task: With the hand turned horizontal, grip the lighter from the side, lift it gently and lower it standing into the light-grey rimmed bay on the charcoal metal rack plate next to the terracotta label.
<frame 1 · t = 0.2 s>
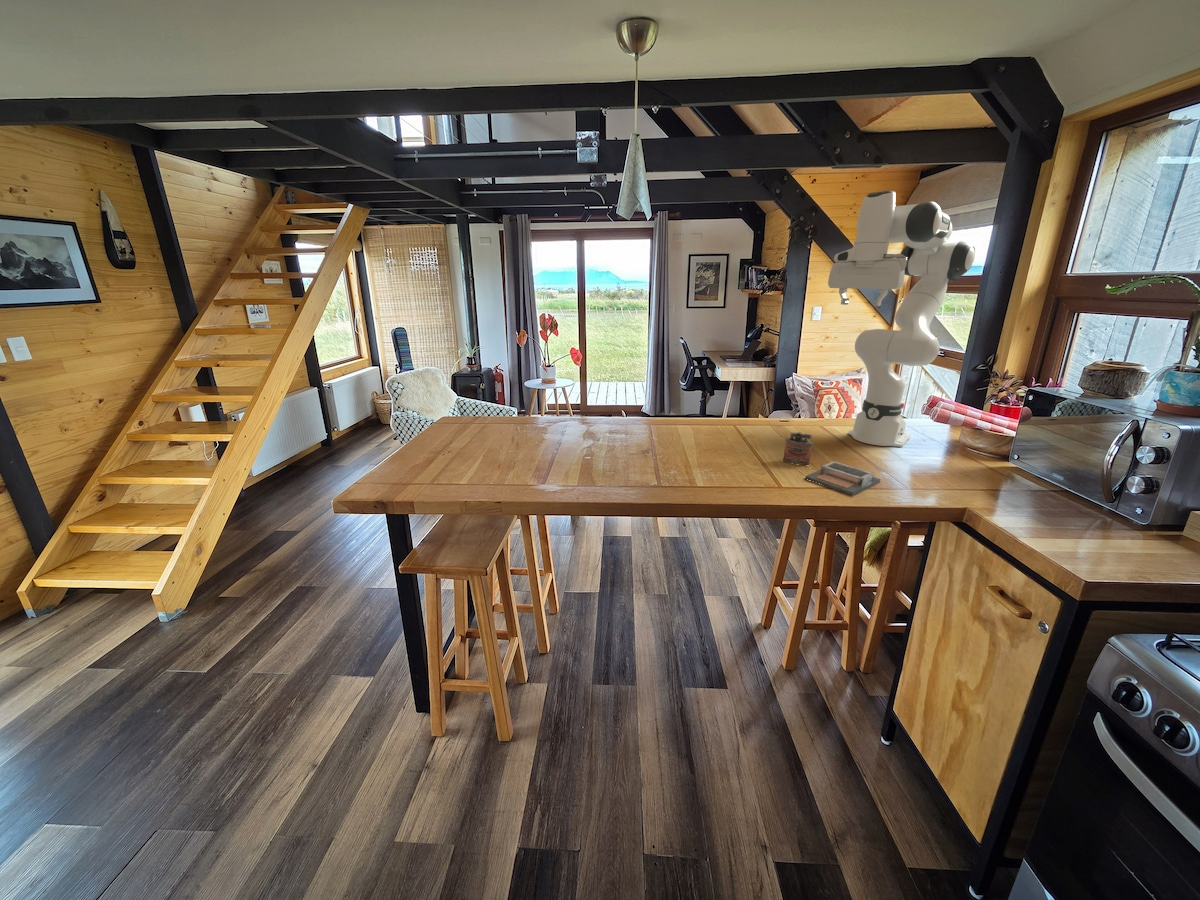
hand: (860, 305, 142), 48 cm above the counter, tool pointing down, fingers open, 8 cm apart
rack plate: (842, 480, 140), on the counter
lighter: (795, 463, 153), on the counter
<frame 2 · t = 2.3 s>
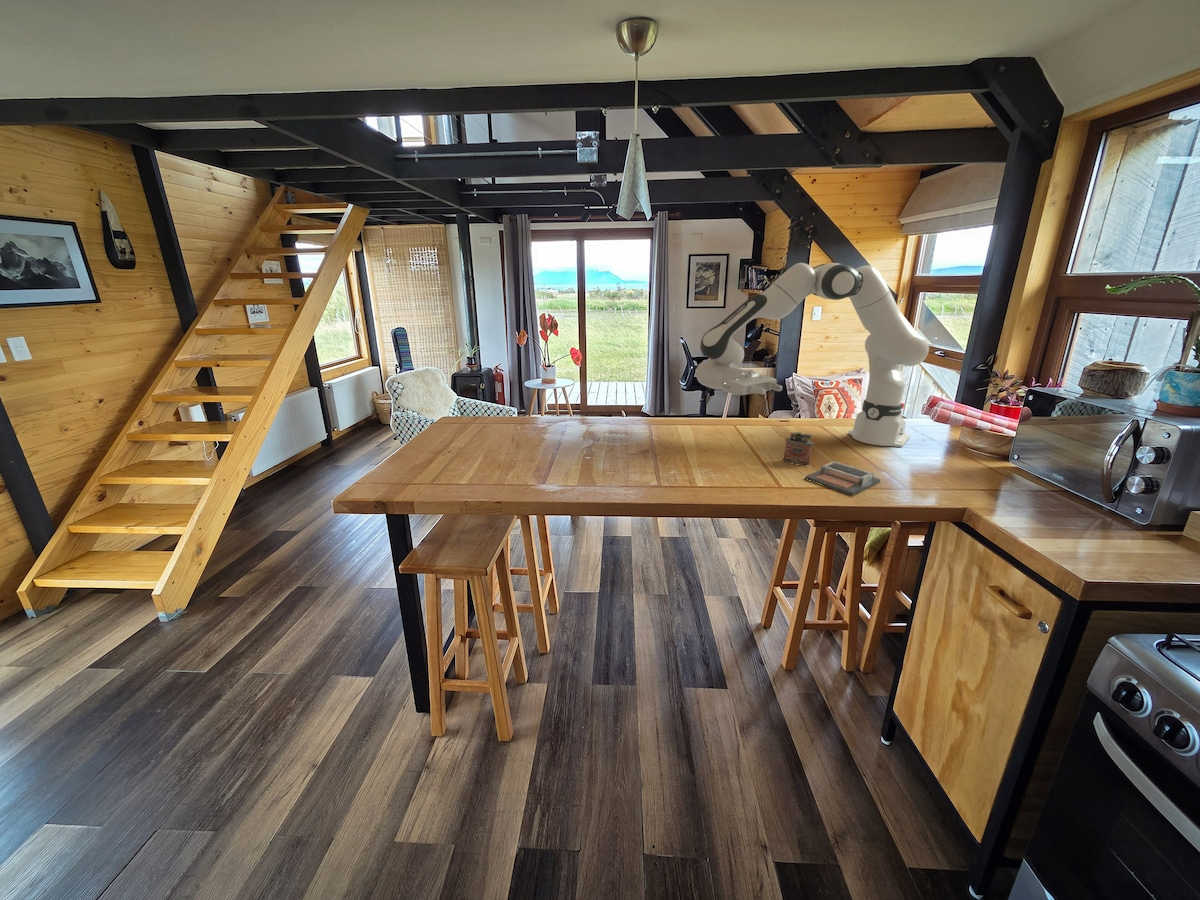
hand: (773, 390, 154), 21 cm above the counter, tool horizontal, fingers open, 8 cm apart
nothing on the counter moved.
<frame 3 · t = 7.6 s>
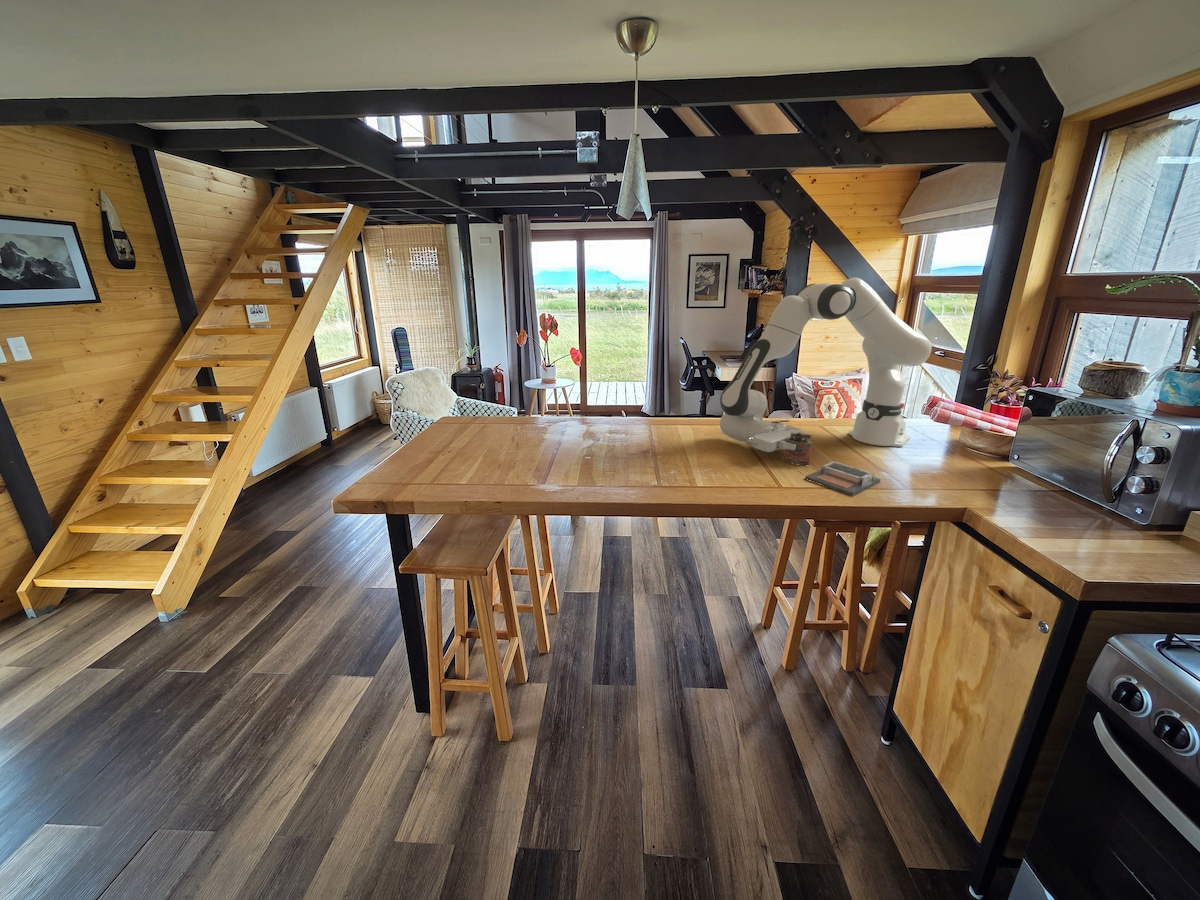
hand: (801, 445, 150), 6 cm above the counter, tool horizontal, fingers closed on lighter, 4 cm apart
lighter: (795, 463, 153), on the counter, touching gripper
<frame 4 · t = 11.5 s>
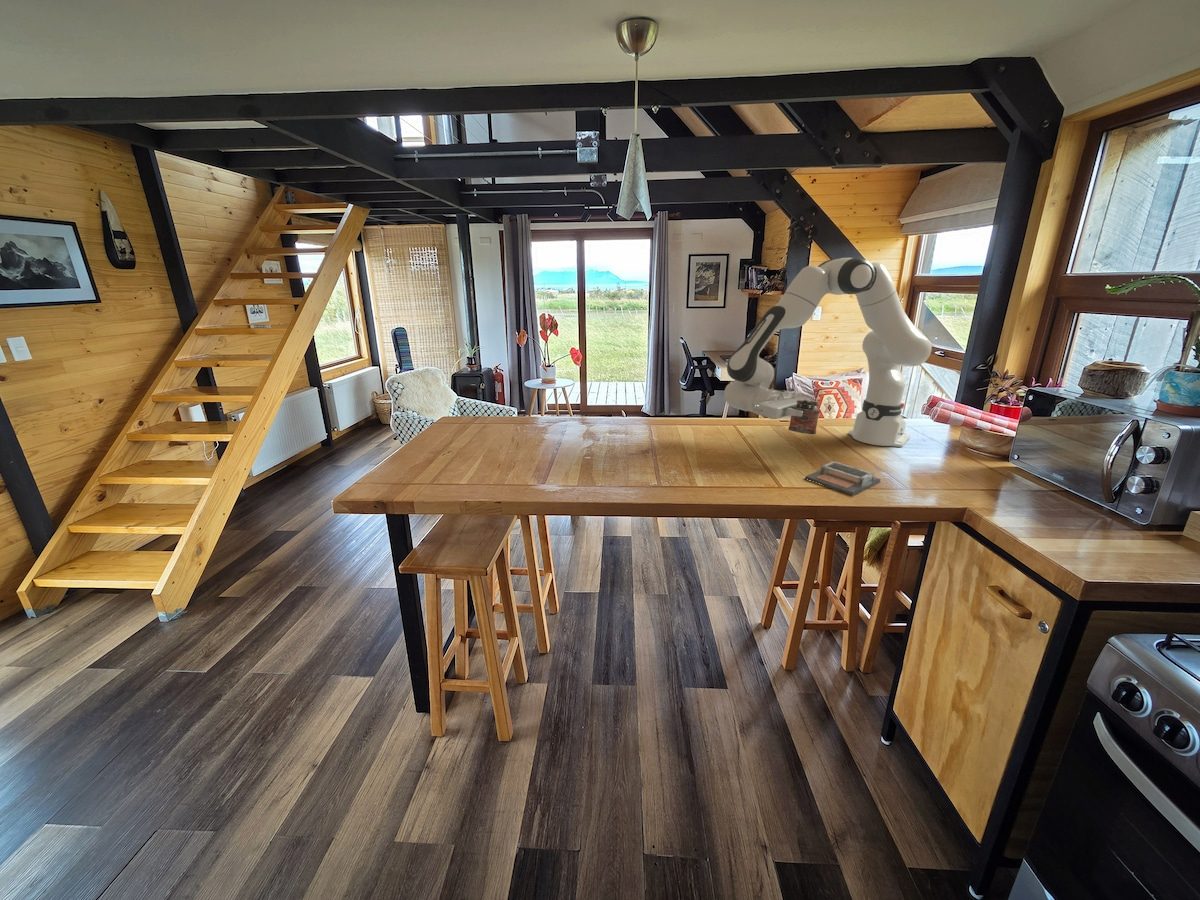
hand: (808, 412, 146), 17 cm above the counter, tool horizontal, fingers closed on lighter, 4 cm apart
lighter: (801, 432, 149), point 10 cm above the counter, touching gripper
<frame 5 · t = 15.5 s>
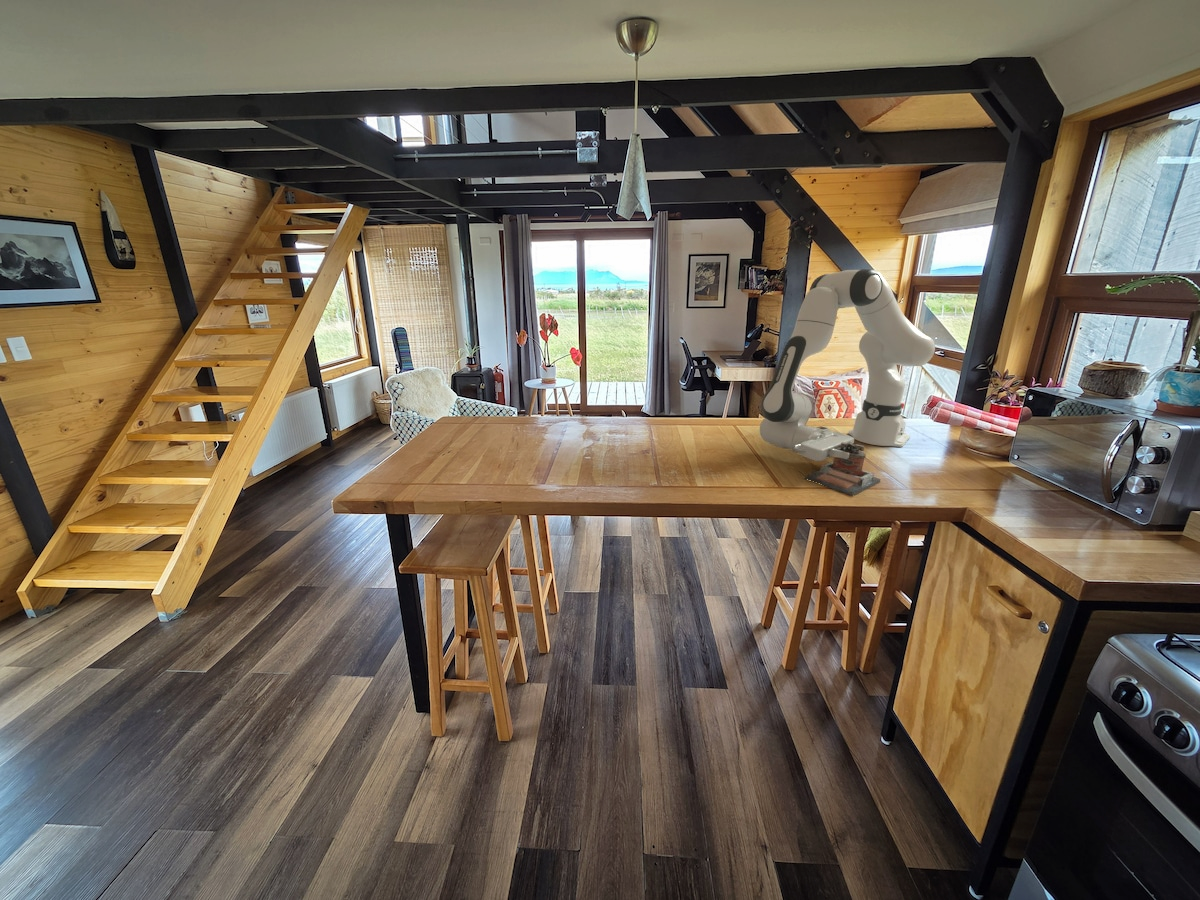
hand: (854, 454, 137), 8 cm above the counter, tool horizontal, fingers closed on lighter, 4 cm apart
lighter: (845, 475, 141), point 1 cm above the counter, touching gripper, rack plate
when the fingers open (8 cm above the counter, at t = 15.8 s): lighter stays where it is, resting on rack plate.
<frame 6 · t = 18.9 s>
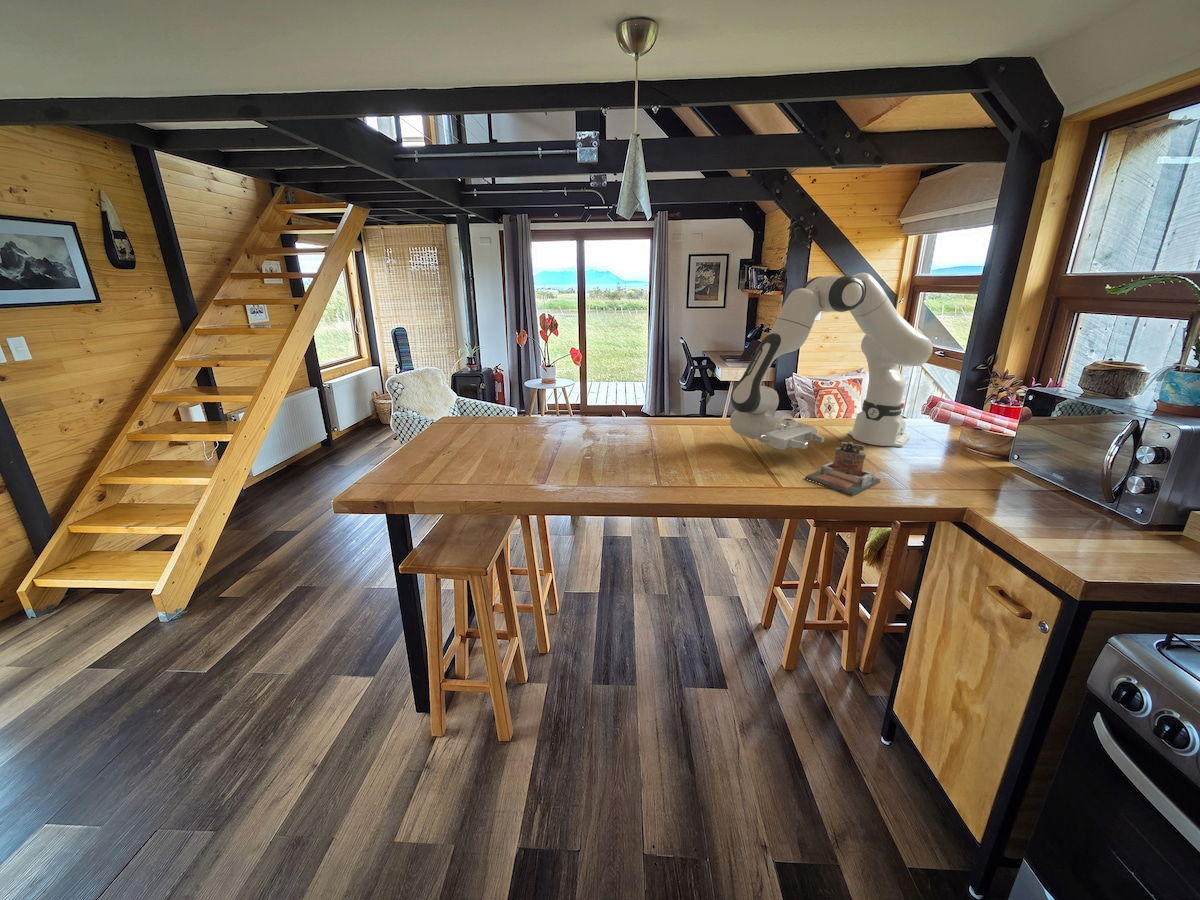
hand: (814, 443, 146), 8 cm above the counter, tool horizontal, fingers open, 8 cm apart
lighter: (845, 475, 141), point 1 cm above the counter, touching rack plate
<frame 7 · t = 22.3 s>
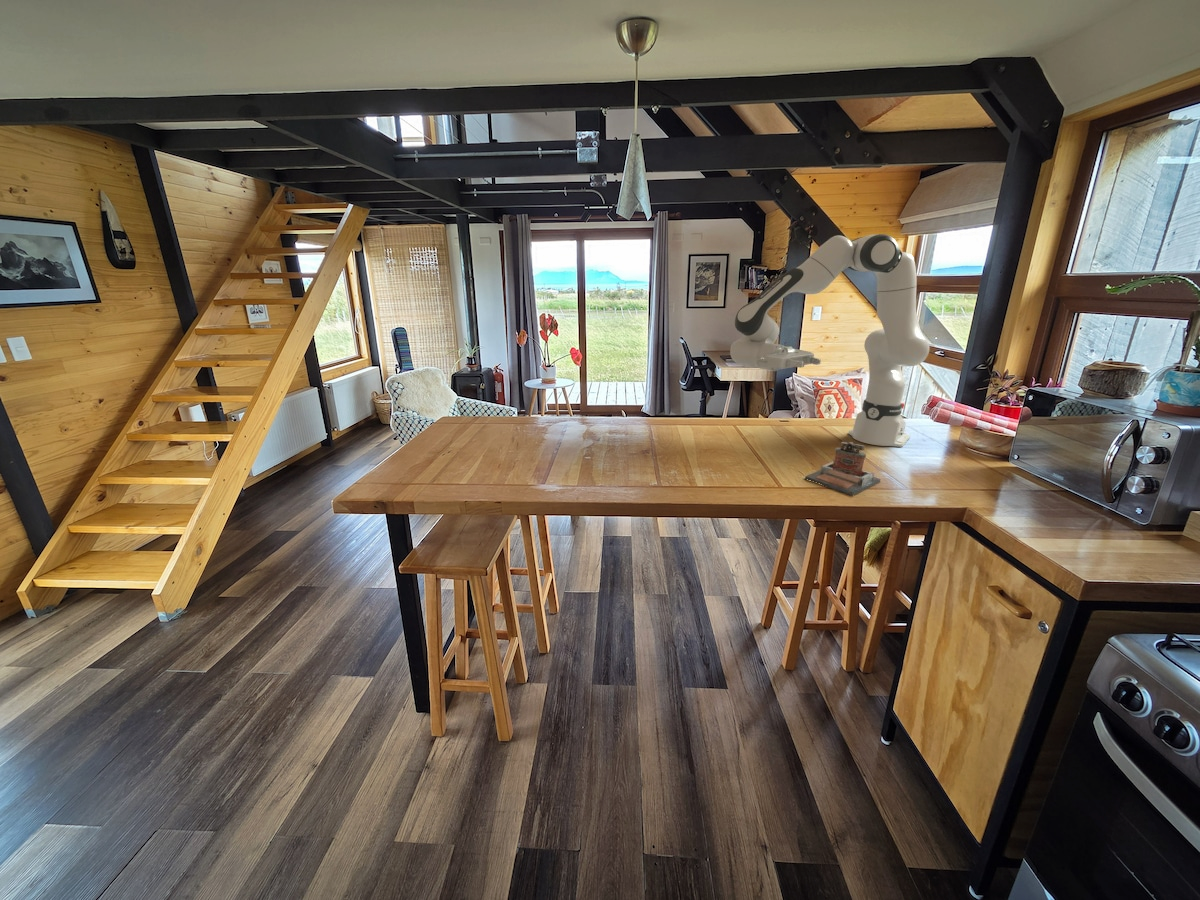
hand: (811, 363, 151), 30 cm above the counter, tool horizontal, fingers open, 8 cm apart
nothing on the counter moved.
at the end: lighter 0.6 cm from the target spot on the rack plate, point 0.8 cm above the rack plate's base; lighter tilted 0°; the gripper is holding nothing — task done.
